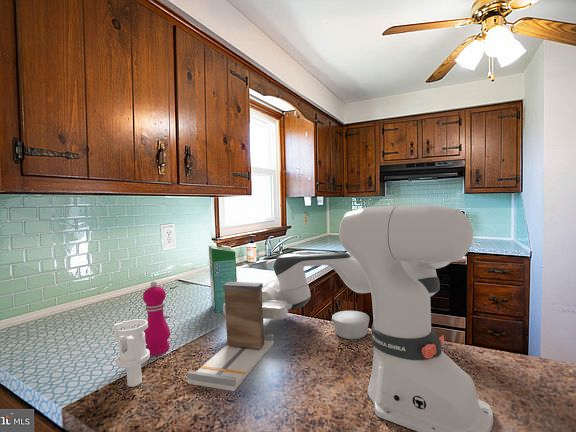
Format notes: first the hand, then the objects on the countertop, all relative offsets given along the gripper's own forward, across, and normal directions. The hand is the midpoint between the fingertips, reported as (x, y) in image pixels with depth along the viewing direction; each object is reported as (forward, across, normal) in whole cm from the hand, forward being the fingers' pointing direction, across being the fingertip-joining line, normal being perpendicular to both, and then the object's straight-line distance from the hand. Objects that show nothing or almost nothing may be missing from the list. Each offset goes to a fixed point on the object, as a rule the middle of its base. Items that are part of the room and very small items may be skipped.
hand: (244, 318), depth 88 cm
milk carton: (-30, +24, -9) cm, 39 cm away
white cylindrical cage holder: (+23, +18, -8) cm, 30 cm away
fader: (+2, -1, -7) cm, 7 cm away
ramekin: (-16, -28, -9) cm, 33 cm away
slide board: (+8, -1, -8) cm, 11 cm away
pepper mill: (+8, +24, -8) cm, 27 cm away
